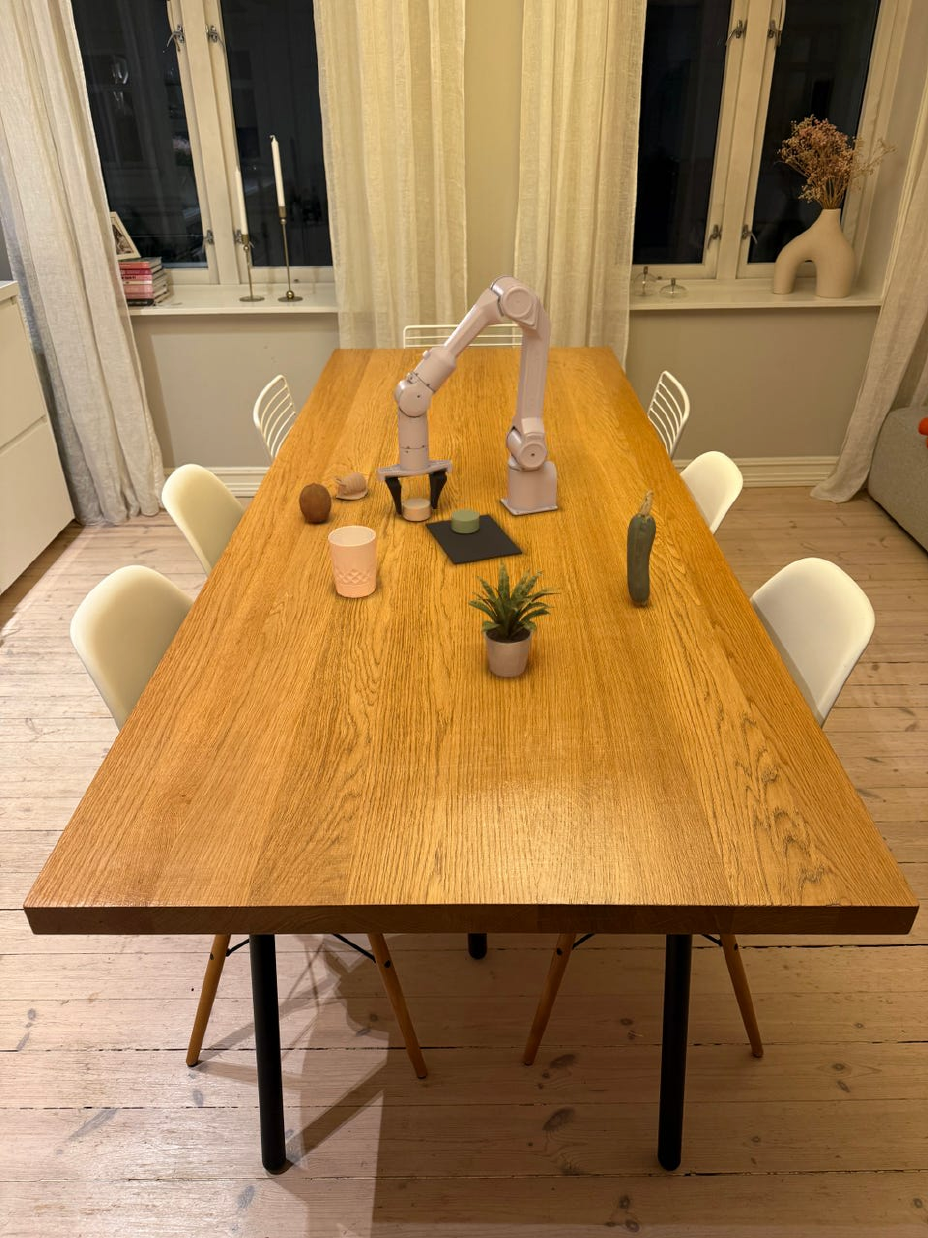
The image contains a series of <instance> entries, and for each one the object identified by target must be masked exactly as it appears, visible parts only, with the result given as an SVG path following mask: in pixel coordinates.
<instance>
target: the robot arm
mask: <svg viewBox="0 0 928 1238" xmlns="http://www.w3.org/2000/svg"><path fill="white" fill-rule="evenodd" d="M503 317H505V318H506V319H508V320H509V321H512V322H514V323H515V324H516V325H517V326H518V328H520V330H521V331H522V335H521V337H522V338H521V349H520V360H519V371H518V383H517V395H516V407H515V414H514V415H513V417H512V419H511V425H510V427H509V430H508V432H507V433H506V436H505V446H506V448H507V450H508V451H509V452H510V455H509V458H508V460H507V497H504V498H501V499H500V503H501V504H503V506H504V507H505V508H506V509H507V510H508V511H509V512H510V513H511V514H512V515H513V516H521V515H527V514H535V513H541V512H547V511H554V510H558V509H559V507H558V506H557V498H558V473H557V472H558V471H557V469H556V465H555V464H554V462H553V461H552V460H548V456H549V448H548V446H547V443H546V429H545V426H544V420H543V414H544V406H545V405H544V402H545V396H546V395H545V394H546V384H547V383H546V382H547V374H548V363H549V354H550V344H551V332H552V322H551V320H550V317H549V316H548V314H547V312H546V310H545V308H544V306H543V304H542V302H541V299H540V296H539V295H538V294H537V293H536V292H535V291H533V289H531V287H529V286H528V285H526V284H524V283H523V282H522V281H520V280H519V279H518V278H516V276H514V275H510V274H503V275H500V276H498V277H497V278H495V279H494V280H493V281H492V283H491V285H490V287H487V288H486V289H485V290H483V292H482V293H481V294H480V296H479V298H478V299H477V301H476V302H475V303H474V305H473V306H472V308H471V309H470V310H469V311H468V312H467V314H466V315H465V317H464V318H463V319H462V320H461V322H460V323H459V324H458V326H457V327H456V328H455V329H454V330H453V332H452V333H451V334H450V336H449V337H448V338H447V340H446V341H445V342H444V343H443V345H440V346H439V345H438V346H433V347H432V348H431V349H430V350H428V349H425V351H424V352H423V353H422V355H421V356H422V357H423V358H422V360H420V362H419V363H418V364H417V366H415V368H414V369H413V370H412V372H408V373H407V374H406V375H405V379H402V380H401V381H399V382H398V383H397V384H396V387H395V390H394V392H393V398H394V401H395V403H396V404H397V405H398V407H397V418H398V419H397V439H398V457H399V458H398V459H399V463H395V464H393V465H390V466H386V467H381V468H376V477H377V480H378V482H379V483H381V482H382V483H383V482H384V483H385V485H386V486H387V489H388V491H389V492H390V494H391V495H390V496H391V497H392V500H393V503H394V507H395V512H396V514H397V515H398V516H400V515H403V506H402V504H403V502H402V489H403V488H402V487H403V485H402V484H401V482H400V479H402V478H410V477H416V476H425V475H428V481H429V502H430V508H432V510H433V511H435V510H438V505H439V500H440V497H441V493H442V491H443V489H444V487H445V485H446V484H447V482H448V475H447V474H449V473H453V462H452V461H451V460H450V459H441V460H439V459H438V460H437V459H435V460H434V459H433V460H432V459H430V438H429V437H430V436H429V419H428V411H429V410H430V407H431V403H432V397H433V396H434V395H436V393H437V392H438V391H439V390H440V389H441V387H442V386H443V385H444V384H445V383H446V382H447V381H448V379H449V378H450V377H451V376H452V375H453V374H454V372H455V371H456V370H457V366H458V365H457V359H458V357H460V356H461V354H463V352H464V351H465V350H466V349H467V348H468V347H469V346H470V345H471V344H472V343H473V342H474V341H475V340H476V338H478V336H479V335H480V334H481V333H482V332H483V331H484V330H485V329H486V328H487V327H491V326H496V325H497V326H498V325H502V324H505V323H506V322H505V320H504V318H503ZM446 473H447V474H446Z"/></svg>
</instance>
